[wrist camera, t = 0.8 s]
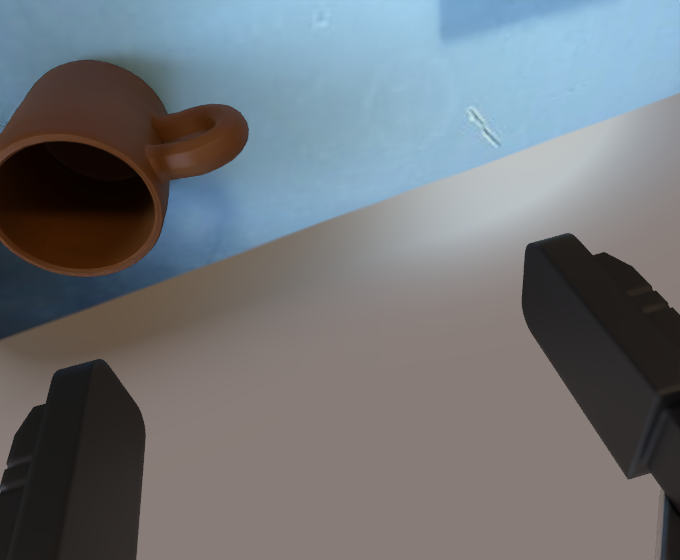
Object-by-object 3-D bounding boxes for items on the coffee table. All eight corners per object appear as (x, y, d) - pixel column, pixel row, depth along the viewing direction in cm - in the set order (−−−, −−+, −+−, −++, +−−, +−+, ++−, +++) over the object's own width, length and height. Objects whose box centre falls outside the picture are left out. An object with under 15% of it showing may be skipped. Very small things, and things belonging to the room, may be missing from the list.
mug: (209, 2, 28) (213, 61, 21) (263, 133, 33) (282, 215, 26) (-5, 85, 28) (-73, 169, 21) (80, 201, 33) (49, 301, 26)
